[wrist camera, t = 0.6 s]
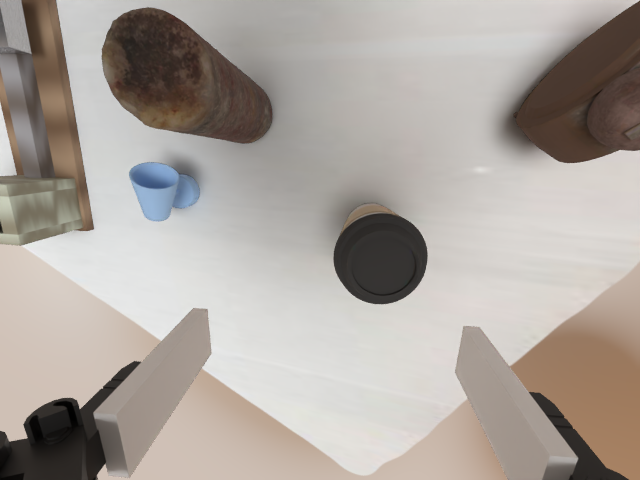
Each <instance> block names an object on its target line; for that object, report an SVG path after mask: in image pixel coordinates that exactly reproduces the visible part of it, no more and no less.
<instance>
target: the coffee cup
mask: <svg viewBox="0 0 640 480" xmlns="http://www.w3.org/2000/svg"><path fill="white" fill-rule="evenodd" d="M426 265H427V247H426V243H425V241H424V238H423V236H422V235H421V233H420V232H419V230H418V229H417V228H416V227H415V226H414V225H413V224H412V223H410V222H409V221H407V220H406V219H404V218H402V217H400V216H399V215H397V214H395V213H394V212H392V211H391V210H389V209H387V208H385V207H383V206H381V205H379V204H374V203H367V204H363V205H360V206H358V207H357V208H355V209H354V210H353V211H352V212H351V213H350V215H349V217H348V219H347V220H346V222H345V224H344V227H343V229H342V231H341V234H340V236H339V239H338V241H337V243H336V246H335V250H334V266H335V270H336V273H337V275H338V277H339V279H340V281H341V282H342V283H343V285H344V286H345V288H346V289H347V290H348V291H349V292H350V293H351V294H352V295H354V296H355V297H357V298H358V299H360V300H362V301H365V302H368V303H372V304H388V303H393V302H396V301H398V300H401V299H403V298H404V297H406V296H407V295H409V294H410V293H411V292H412V291H413V290H414V289H415V288H416V287H417V286H418V284H419V283H420V281H421V280H422V278H423V276H424V273H425V270H426Z"/></svg>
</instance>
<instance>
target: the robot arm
mask: <svg viewBox="0 0 640 480" xmlns="http://www.w3.org/2000/svg"><path fill="white" fill-rule="evenodd" d="M210 355H211V343H210V332H209V321H208V310H207V309H199V308H193V309H192V310H191V311H190V312H189V313H188V314H187V315H186V316H185V317H184V318H183V319H182V320H181V322H180V323H179V324H178V325H177V326H176V327H175V328H174V329H173V330H172V331H171V332H170V333H169V334H168V335H167V336H166V337H165V338H164V339H163V340H162V341H161V342H160V343H159V344H158V346H157V347H156V348H155V349H154V350H153V351H152V352H151V353H150V354H149V355H148V356H147V357H146V358H145V359H144V360H143V361H142V362H137V361H134V362H132V363H130V364H129V365H127V366H126V367H124V368H122V369H121V370H120V371H119V372H118V373H117V374H116V375H115V376H114V377H113V378H112V379H111V381H109V382H108V383H107V384H106V385H105V386H104V387H103V389H101V390H99V392H97V393H96V394H95V395H94V396H93V397H92V398H91V399H90V400H89V401H88V402H87V403H86V404H85V405H84V406H83V407H82V408H81V409H79V405H78V402H77V400H75V399H73V398H62V399H58V400H54V401H52V402H49V403H47V404H45V405H43V406H41V407H40V408H38V409H37V410H35V411H34V412H33V413H32V414H31V415H30V416H29V417H28V418H27V419H26V421H25V423H24V428H25V431H26V434H27V437H28V438H27V439H22V440H17V441H11V442H9V441H8V438H7V435H6V434H5V432H2V431H0V480H98V478H97V474H98V472H99V471H100V470H101V468H102V467H103V466H104V464H105V463H106V467H107V472H108V475H109V476H115V477H125V478H130V477H131V475H132V474H133V472H134V470H135V469H136V467H137V466H138V464H139V463H140V461H141V460H142V458H143V457H144V455H145V454H146V452H147V451H148V449H149V448H150V446H151V445H152V443H153V441H154V440H155V439H156V437H157V436H158V434H159V432H160V431H161V429H162V428H163V426H164V425H165V423H166V422H167V420H168V419H169V417H170V416H171V414H172V413H173V411H174V410H175V408H176V406H177V405H178V404H179V402H180V401H181V399H182V397H183V396H184V394H185V393H186V391H187V390H188V388H189V387H190V385H191V384H192V382H193V381H194V379H195V378H196V376H197V375H198V373H199V372H200V370H201V369H202V367H203V366H204V364H205V362H206V361H207V359H208V358H209V356H210ZM455 373H456V375H457V377H458V379H459V381H460V383H461V385H462V387H463V389H464V391H465V393H466V395H467V397H468V400H469V401H470V403H471V405H472V408H473V410H474V412H475V414H476V416H477V418H478V420H479V422H480V424H481V426H482V428H483V430H484V432H485V434H486V436H487V438H488V440H489V442H490V444H491V446H492V448H493V451H494V453H495V454H496V457H497V459H498V460H499V463H500V465H501V467H502V469H503V471H504V473H505V475H506V477H507V479H508V480H628V479H627V478H625V477H624V476H622V475H621V474H619V473H617V472H614V471H612V470H610V469H608V468H606V467H605V466H604V464H603V463H602V462H601V461H600V460H599V458H598V457H597V456H596V455H595V453H594V452H593V451H592V450H591V449H590V447H589V446H588V445H587V444H586V442H585V441H584V440H583V439H582V438H581V436H580V435H579V434H578V433H577V431H576V430H575V429H573V427H572V425H571V424H570V423H569V422H568V420H567V419H565V418H564V415H563V414H562V413H561V412H560V411H559V409H558V408H557V407H556V406H555V404H553V403H552V402H551V401H550V400H548V399H547V398H546V397H544V396H543V395H542V394H541V393H534V392H528V391H527V389H526V388H525V387H524V385H523V384H522V383H521V381H520V380H519V379H518V377H517V376H516V375H515V373H514V372H513V371H512V369H511V368H510V367H509V366H508V364H507V363H506V362H505V360H504V359H503V358H502V356H501V355H500V354H499V352H498V351H497V350H496V348H495V347H494V346H493V344H492V343H491V342H490V340H489V339H488V338H487V336H486V335H485V334H484V332H483V331H482V330H481V328H480V327H471V326H464V327H463V332H462V338H461V343H460V348H459V354H458V359H457V364H456V370H455Z"/></svg>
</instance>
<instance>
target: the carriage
mask: <svg viewBox="0 0 640 480" xmlns="http://www.w3.org/2000/svg"><path fill="white" fill-rule="evenodd" d="M0 53H18V54H31V49H30V44H29V38H28V33H27V28H26V23H25V18H24V13H23V8H22V3H21V0H0Z"/></svg>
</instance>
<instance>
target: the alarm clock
mask: <svg viewBox="0 0 640 480" xmlns="http://www.w3.org/2000/svg"><path fill="white" fill-rule="evenodd" d="M514 117H515V118H516V123H517V125H518V126H519V127H520V128H521V129H522V131H523V132H524V133H525V134H526V136H527V137H528V138H529V139H530V140H531V141H532V142H533V143H534V144H535V145H536V146H537V147H539V148H540V149H541V150H543V151H544V152H546V153H547V154H549V155H550V156H551V157H553V158H554V159H556V160H558V161H560V162H563V163H577V162H584V161H588V160H592V159H596V158H599V157H602V156H605V155H608V154H611V153H613V152H616V151H618V150H629V151H637V150H640V1H639V2H637V3H636V4H634V5H632V6H631V7H629V8H628V9H626V10H625V11H623V12H622V13H620V14H619V15H618V16H616V17H615V18H613V19H612V20H611V21H609V22H608V23H607V24H605V25H604V26H602V27H601V28H600V29H598V30H597V31H596V32H594V33H593V34H592V35H591V36H589V37H588V38H587V39H585V40H584V41H583V42H582V43H581V44H579V45H578V46H577V47H576V48H575V49H574V50H572V51H571V52H570V53H569V54H568V55H567V56H566V57H565V58H564V59H563V60H561V61H560V62H559V63H558V64H557V65H556V66H555V67H554V68H553V69H552V70H551V71H550V72H549V73H548V74H547V76H546V77H545V78H544V79H543V80H542V81H541V82H540V83H539V84H538V85H537V86H536V88H535V89H534V90H533V91H532V92H531V94H530V95H529V96H528V98H527V99H526V100H525V102H524V103H523V105H522V107H521V108H520V110H519V112H516V113H514Z"/></svg>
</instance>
